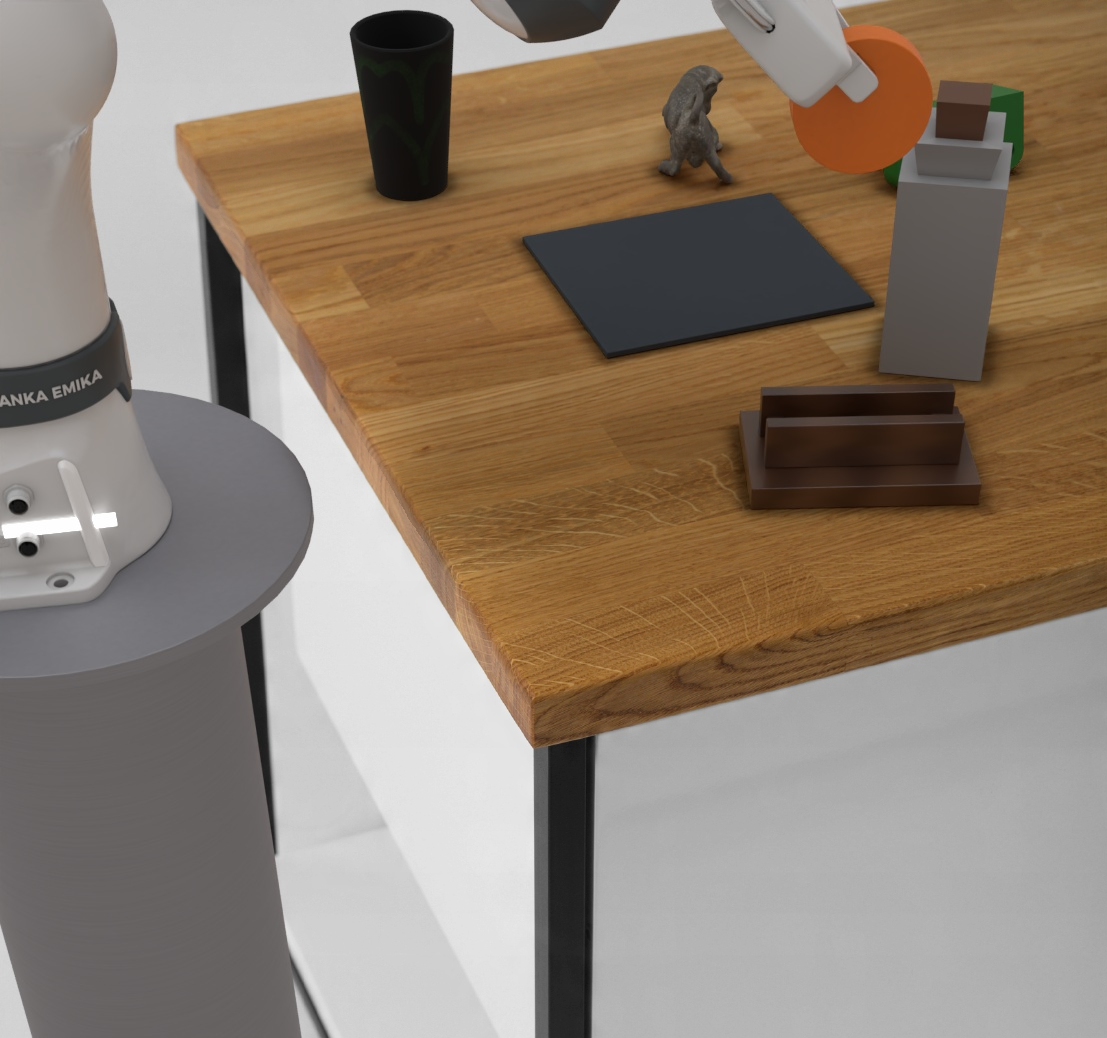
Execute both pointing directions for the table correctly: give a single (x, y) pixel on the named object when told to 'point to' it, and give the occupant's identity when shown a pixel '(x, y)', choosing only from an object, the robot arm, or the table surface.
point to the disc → (870, 108)
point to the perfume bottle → (947, 238)
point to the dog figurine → (693, 123)
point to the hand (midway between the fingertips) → (863, 77)
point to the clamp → (1013, 132)
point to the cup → (406, 99)
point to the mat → (694, 274)
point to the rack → (857, 447)
